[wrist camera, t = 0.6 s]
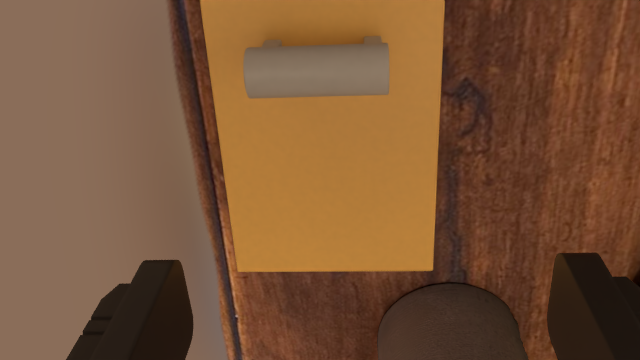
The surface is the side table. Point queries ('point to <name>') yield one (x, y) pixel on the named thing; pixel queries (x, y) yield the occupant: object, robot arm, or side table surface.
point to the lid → (328, 130)
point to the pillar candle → (449, 326)
